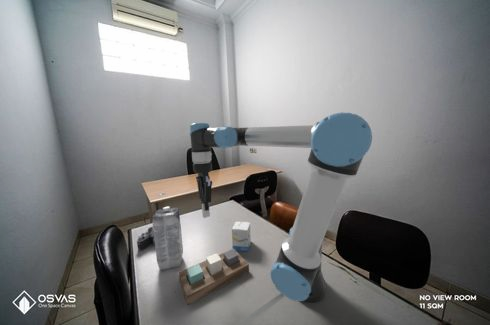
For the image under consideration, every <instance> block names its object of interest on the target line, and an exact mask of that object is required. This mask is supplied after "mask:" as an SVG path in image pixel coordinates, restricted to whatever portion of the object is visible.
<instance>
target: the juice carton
mask: <svg viewBox="0 0 490 325" xmlns="http://www.w3.org/2000/svg"><path fill="white" fill-rule="evenodd" d="M170 207H171V206H165V207H162V209H158V210H156V212H155V213H154V215H153V216H152V217H151V219H152V220H151V221H152V227H153V233H154V241H155V244H154V248H155V256H156V263H157V266H158V269H159V271H165V270H169V269H173V268H174V269H176V268H180V267H181V262H182V258H183V254H184V246H183V244H184V243H183V237H182V236H183V234H182V225H181V216H180V210H179V208H178V207H173V208H170Z"/></svg>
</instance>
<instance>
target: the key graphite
mask: <svg viewBox="0 0 490 325" xmlns="http://www.w3.org/2000/svg"><path fill="white" fill-rule="evenodd" d="M229 250H230V251H229ZM229 250H227V251H228V252H227V251H225V252H226V253H225V252H223V253H224V262H225V264H226V265H227V266H228V267H230V266H232V265H234V264H236V263H239V258H238V254H237V253H236V252H235V251H234V250H232V249H229Z"/></svg>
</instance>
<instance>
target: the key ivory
mask: <svg viewBox="0 0 490 325" xmlns="http://www.w3.org/2000/svg"><path fill="white" fill-rule="evenodd" d="M219 255H220V254H218V253H217V252H216V253H214V254H210V255H209V256H206V257H205V259H206V260H205V261H206V262H207V269H208V271H209V275H210V276H212V275H214V274H216V273H218V272H220V271H222V260H221V258H220V257H219Z"/></svg>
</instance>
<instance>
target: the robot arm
mask: <svg viewBox="0 0 490 325" xmlns="http://www.w3.org/2000/svg"><path fill="white" fill-rule="evenodd" d="M189 131H190V132H189V136H190V146H191V159H192V161H191V162H192V163H193V164H192V171H193V172H194V173H195V174H197V176H196V177H195V179H196V184H197V192H198V195H199V198H198V199H199V200H200V202H201V212H202V218H203V219H205V218H209V217H210V216H211V213H210V203H212V186H213V181H212V180H211V178H210V172H212V171H213V164H212V155H213V153H212V148H214V149H215V148H221V149H226V148H227V149H228V148H233V147H238V146H239V147H240V146H242V147H244V146H245V147H249V146H250V147H273V148H275V147H276V148H278V147H279V148H297V149H298V148H301V149H310V151H309V155H308V158H307V163H308V165H309V166H310V172H309V176H308V178H307V181H306V184H305V185H306V186H305V188H304V191H303V195H302V198H301V201H300V204H299V207H298V210H297V213H296V216H295V219H294V222H293V226H292V227H291V228H290V229H289V232H288V235H289V236H288V237H287V238H285V239H284V240H283V242H281V243H282V244H281V247H280V250H279V254H278V256H277V258H276V260H275V262H274V263H273V264H272V266H271V267H272V268H271V269H270V279H271V281H272V284H273V285H274V287H275V289H277V291H278V292H280V293H281V295H283V296H284V297H286V298H287V299H289V300H292V301H295V302H296V301H297V302H305V303H306V302H307V303H315V302H319V301H320V300H322V299H323V298H324V297H325V295H326V291H327V290H326V289H327V288H326V287H327V286H326V280H325V278H324V276H323V271H322V257H323V254H322V253H323V242H324V238H325V236H326V233H327V231H328V229H329V228H328V227H329V225H330V223H331V220H332V218H333V216H334V213H335V210H336V208H337V205H338V203H339V200H340V197H341V194H342V192H343V190H344V187H345V186H346V182H347V180H348V179H351V178H353V177H356V176H357V174H358V171H359V168H360V167H361V164H362V161H363V158H364V156H366V154H367V153H368V151H369V150H370V148H371V145H372V141H373V133H372V129H371V127H370V125H369V123H368V121H366V120H365V119H364V117H362V116H360V115H358V114H356V113H351V112H344V111H343V112H336V113H333V114H330V115H328V116H326V117H324V118H323V119H321V121H316V123H315V124H313V125H287V126H285V125H283V126H259V127H257V126H254V127H232V126H227V125H226V126H225V125H223V126H217V127H210V124H209V123H208V122H207V123H206V122H194V123H191V124H190V125H189Z"/></svg>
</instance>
